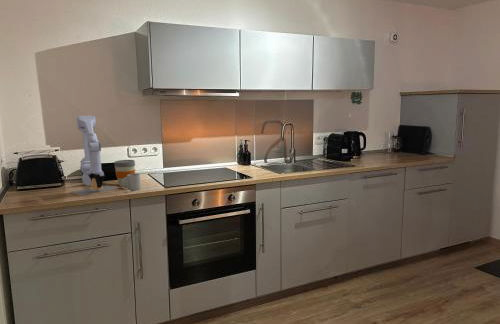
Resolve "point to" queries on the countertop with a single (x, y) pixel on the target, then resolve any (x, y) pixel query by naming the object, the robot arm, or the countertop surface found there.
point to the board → (90, 190)
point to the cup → (132, 182)
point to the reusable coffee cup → (124, 169)
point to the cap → (95, 185)
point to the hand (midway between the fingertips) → (97, 186)
